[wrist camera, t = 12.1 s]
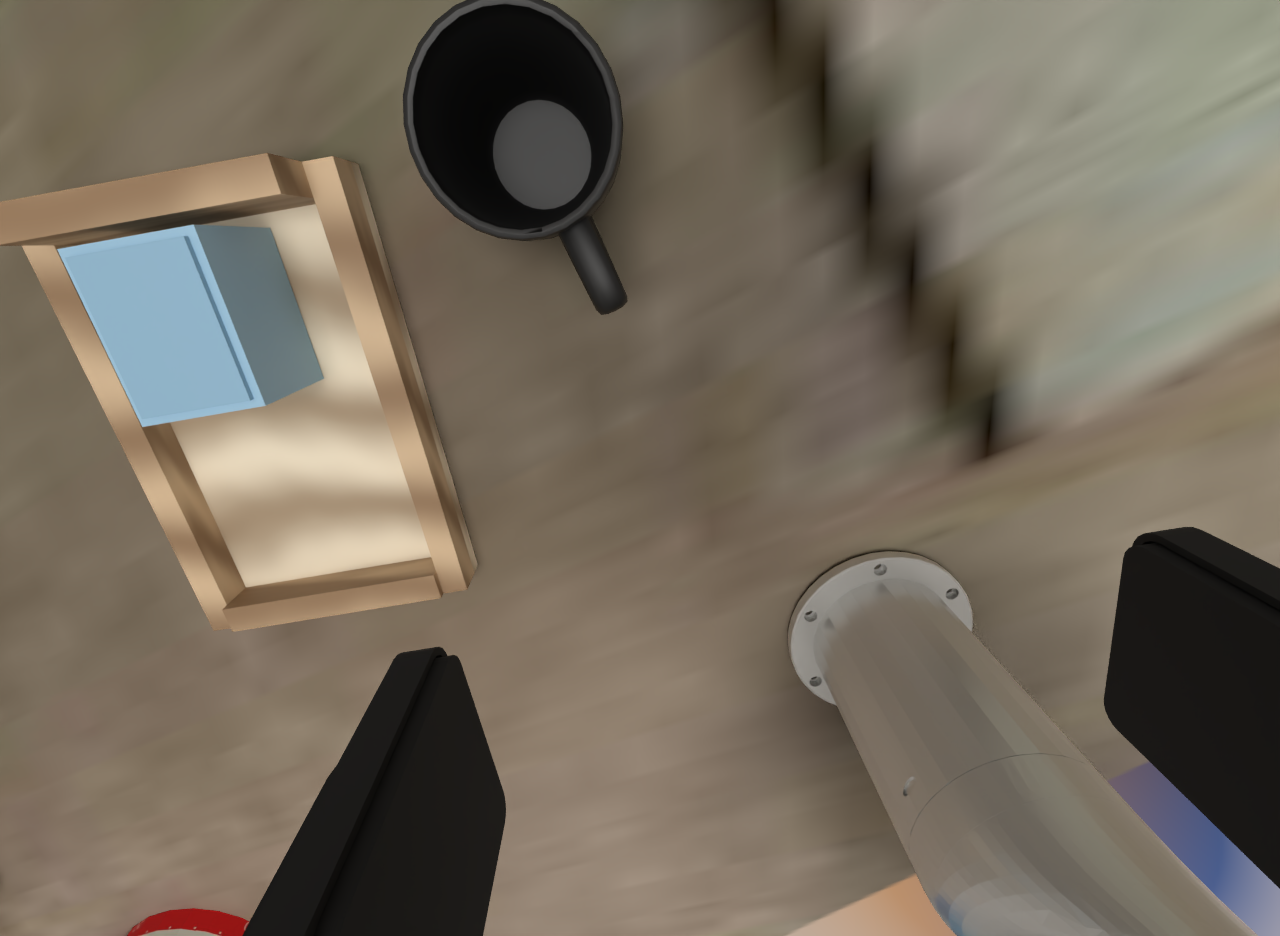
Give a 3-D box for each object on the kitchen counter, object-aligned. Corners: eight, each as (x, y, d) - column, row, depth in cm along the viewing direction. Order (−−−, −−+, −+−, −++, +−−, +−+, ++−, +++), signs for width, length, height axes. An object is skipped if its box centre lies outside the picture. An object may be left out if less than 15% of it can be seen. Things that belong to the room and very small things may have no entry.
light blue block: (324, 378, 34) (261, 407, 28) (220, 396, 34) (137, 429, 28) (270, 227, 31) (188, 224, 25) (157, 248, 31) (50, 249, 25)
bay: (477, 564, 40) (454, 618, 34) (242, 603, 40) (181, 662, 34) (358, 163, 31) (301, 146, 26) (61, 217, 32) (-60, 212, 26)
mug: (547, 330, 34) (523, 361, 26) (431, 114, 31) (355, 62, 22) (677, 263, 33) (699, 271, 25) (575, 31, 29) (556, -60, 21)
